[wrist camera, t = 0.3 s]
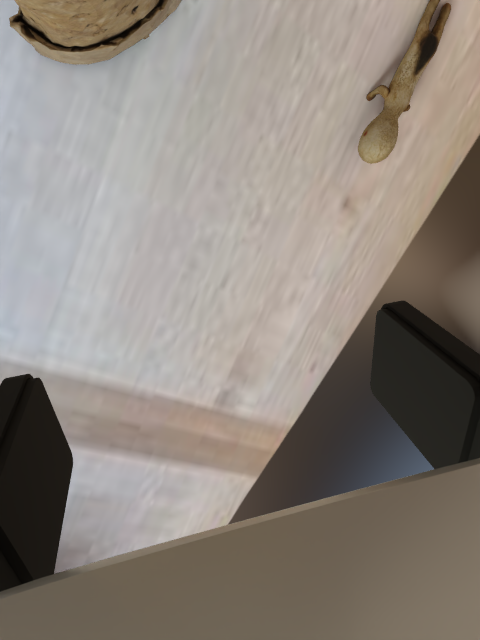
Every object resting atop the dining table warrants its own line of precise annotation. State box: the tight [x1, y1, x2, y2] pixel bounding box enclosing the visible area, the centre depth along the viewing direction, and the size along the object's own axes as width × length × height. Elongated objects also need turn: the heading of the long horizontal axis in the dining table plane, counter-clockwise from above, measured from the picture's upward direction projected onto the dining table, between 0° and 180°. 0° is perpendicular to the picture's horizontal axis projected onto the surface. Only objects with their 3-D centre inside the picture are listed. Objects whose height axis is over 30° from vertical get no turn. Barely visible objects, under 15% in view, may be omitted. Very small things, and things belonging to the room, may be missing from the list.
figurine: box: [358, 0, 451, 164], centre depth 36 cm, size 4×4×15 cm
